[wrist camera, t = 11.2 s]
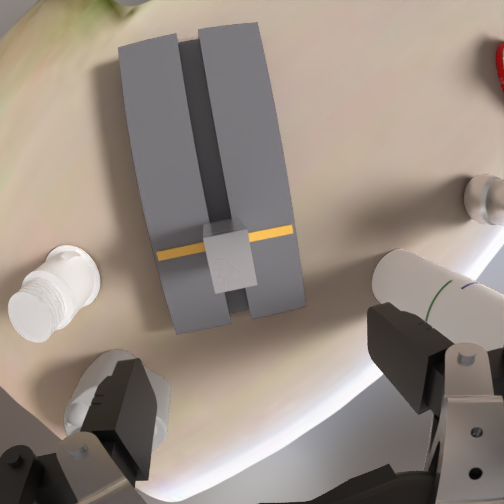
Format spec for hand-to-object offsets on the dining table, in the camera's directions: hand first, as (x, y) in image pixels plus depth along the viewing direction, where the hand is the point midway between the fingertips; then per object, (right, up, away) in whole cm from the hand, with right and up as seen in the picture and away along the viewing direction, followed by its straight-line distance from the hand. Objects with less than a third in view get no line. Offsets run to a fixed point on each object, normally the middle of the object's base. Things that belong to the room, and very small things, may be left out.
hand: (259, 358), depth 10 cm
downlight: (-19, +1, +20) cm, 28 cm away
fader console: (-4, +11, +19) cm, 23 cm away
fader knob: (-3, +5, +20) cm, 21 cm away
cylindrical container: (+17, +1, +25) cm, 31 cm away
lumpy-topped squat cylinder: (-17, -14, +24) cm, 33 cm away
